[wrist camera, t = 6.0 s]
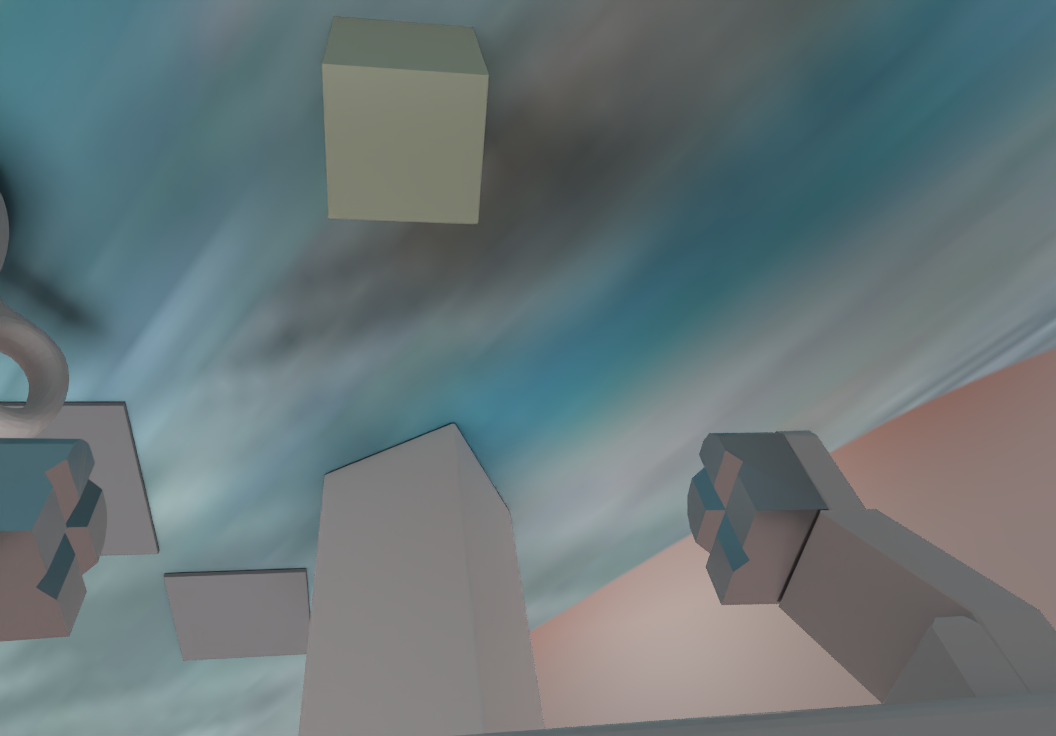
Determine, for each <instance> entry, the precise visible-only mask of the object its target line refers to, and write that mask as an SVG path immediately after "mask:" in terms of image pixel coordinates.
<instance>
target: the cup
mask: <svg viewBox="0 0 1056 736" xmlns="http://www.w3.org/2000/svg"><path fill="white" fill-rule="evenodd" d="M8 242H9V221H8V214H7V210H6V206H5V203H4V200H3V197H2V195H1V193H0V272H1V269H2V267H3V264H4V261H5V258H6V254H7V249H8ZM0 352H2V353H4V354H6V355H8V356H9V357H11V358H12V359H13V360H14V361H16V362H17V363H18V364H19V365H20V367H21V368H22V369H23V370H24V372H25V374H26V376H27V379H28V382H29V394H28V399H27V402H26V404H25V406H24V407H23V408H10V407H5V406H3V405H0V438H34V437H36V436H37V435H39V434H40V433H41V432H42V431H43V430H44V429H45V428H46V427H47V426H48V425H49V424H50V423H51V422H52V421H53V420H54V419H55V418H56V416H57V415H58V413H59V412H60V410H61V408H62V406H63V403H64V401H65V399H66V395H67V392H68V385H69V372H68V365H67V362H66V359H65V356H64V355H63V353H62V351H61V349H60V348H59V347H58V345H57V344H56V343H55V342H54V341H53V340H52V339H51V338H50V337H49V336H48V335H47V334H46V333H45V332H44V331H42V330H41V329H40V328H39V327H37V326H36V325H34V324H33V323H31V322H30V321H29V320H27V319H26V318H24V317H23V316H21V315H20V314H18V313H17V312H15V311H14V310H12V309H11V308H10V307H8V306H7V305H6V304H4V303H3V301H2V300H1V299H0Z"/></svg>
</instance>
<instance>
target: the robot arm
mask: <svg viewBox="0 0 1056 736" xmlns="http://www.w3.org/2000/svg"><path fill="white" fill-rule="evenodd" d="M699 456H700V458H701V460H702V462H703V464H704V468H703V469H702V470H701V471H700V472H699V473H697V474H696V475H695V476H694V477H693V478H692V481H691V484H690V488H689V492H688V519H689V524H690V529H691V531H692V534H693V536H694V539H695V542H696V543H697V544H699V545H700V546H701V547H702V548H704V549H705V550H706V551H708V552H709V553H710V556H709V559H708V562H707V565H706V569H707V571H708V574H709V576H710V578H711V581H712V583H713V585H714V588H715V590H716V593H717V595H718V598H719V600H720V603H721V604H722V605H738V604H739V605H740V604H779V607H780V608H781V609H782V610H783V611H784V612H785V613H786V614H787V615H788V616H789V617H790V618H792V620H794V621H795V622H796V623H797V624H798V625H799V626H800V627H801V628H802V629H803V630H804V631H805V632H806V633H807V634H809V635H810V636H811V637H812V638H813V639H814V640H815V641H816V642H817V643H818V644H819V645H820V646H821V647H822V648H823V649H825V650H826V651H827V652H828V653H829V654H830V655H831V656H832V657H833V658H834V659H835V660H836V661H837V662H838V663H840V664H841V665H842V666H843V667H844V668H845V669H846V670H847V671H848V672H849V673H850V674H851V675H852V676H853V677H854V678H856V679H857V680H858V681H859V682H860V683H861V684H862V685H863V686H864V687H865V688H866V689H867V690H868V691H869V692H870V693H872V694H873V695H874V696H875V697H876V698H877V699H878V700H879V701H880V702H881V703H882V704H876V705H863V706H849V707H835V708H822V709H809V710H796V711H795V710H794V711H781V712H768V713H754V714H740V715H726V716H715V717H714V716H713V717H700V718H686V719H673V720H659V721H647V722H634V723H619V724H606V725H592V726H579V727H565V728H552V729H538V730H525V731H511V732H497V733H484V734H470V735H456V736H1056V631H1055V629H1054V628H1053V627H1052V625H1051V624H1050V623H1049V622H1048V621H1047V619H1046V618H1045V617H1044V615H1043V614H1042V613H1041V611H1040V610H1038V609H1037V608H1035V607H1034V606H1032V605H1030V604H1029V603H1027V602H1025V601H1024V600H1022V599H1020V598H1019V597H1017V596H1015V595H1014V594H1013V593H1011V592H1009V591H1008V590H1006V589H1005V588H1003V587H1001V586H1000V585H998V584H996V583H995V582H993V581H992V580H990V579H988V578H987V577H985V576H983V575H982V574H980V573H979V572H977V571H975V570H973V569H972V568H971V567H969V566H967V565H966V564H964V563H962V562H961V561H959V560H957V559H956V558H954V557H952V556H951V555H950V554H948V553H946V552H945V551H943V550H941V549H940V548H938V547H937V546H935V545H933V544H932V543H930V542H929V541H927V540H925V539H923V538H922V537H920V536H919V535H917V534H915V533H914V532H912V531H910V530H909V529H907V528H906V527H904V526H902V525H901V524H899V523H898V522H896V521H894V520H893V519H891V518H890V517H888V516H886V515H885V514H883V513H882V512H880V511H878V510H877V509H871V510H870V509H866V508H865V506H864V505H863V504H862V502H861V501H860V499H859V498H858V496H857V495H856V493H855V492H854V490H853V489H852V487H851V486H850V484H849V483H848V481H847V480H846V478H845V477H844V475H843V474H842V472H841V471H840V469H839V468H838V466H837V465H836V463H835V462H834V460H833V459H832V457H831V456H830V454H829V453H828V451H827V450H826V448H825V447H824V445H823V444H822V442H821V441H820V439H819V438H818V436H817V435H815V434H814V433H812V432H811V431H776V432H775V433H773V432H760V433H709V434H708V436H707V437H706V438H705V440H704V441H703V444H702V447H701V451H700V454H699ZM94 465H95V461H94V458H93V455H92V452H91V449H90V446H89V443H88V442H86V441H84V440H82V439H52V438H0V641H12V640H26V639H40V638H53V637H67V636H70V633H71V631H72V628H73V625H74V623H75V620H76V618H77V615H78V613H79V610H80V607H81V605H82V602H83V600H84V597H85V595H86V592H87V591H86V587H85V584H84V581H83V578H82V574H84V573H85V572H86V571H88V570H89V569H90V568H91V567H93V566H94V565H95V564H97V563H98V560H99V558H100V555H101V552H102V549H103V546H104V543H105V535H106V528H107V509H106V502H105V498H104V494H103V490H102V489H101V488H100V487H99V486H97V485H96V484H95V483H93V482H92V481H91V480H89V476H90V474H91V472H92V469H93V467H94Z"/></svg>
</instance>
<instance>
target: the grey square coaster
mask: <svg viewBox="0 0 1056 736" xmlns="http://www.w3.org/2000/svg"><path fill="white" fill-rule="evenodd" d="M164 581H165V585H166V590H167V594H168V598H169V603H170V607H171V611H172V615H173V620H174V624H175V628H176V632H177V637H178V641H179V645H180V649H181V654H182V658H183V661H187V660H206V659H224V658H243V657H261V656H280V655H299V654H307V645H308V635H309V625H310V610H309V597H308V585H307V572H306V569H282V570H255V571H227V572H199V573H171V574H164Z"/></svg>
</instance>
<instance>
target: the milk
mask: <svg viewBox="0 0 1056 736" xmlns="http://www.w3.org/2000/svg"><path fill="white" fill-rule="evenodd" d="M538 729H545V726H544V719H543V713H542V707H541V700H540V695H539V688H538V682H537V676H536V670H535V664H534V658H533V652H532V646H531V639H530V633H529V627H528V621H527V614H526V608H525V602H524V596H523V590H522V584H521V577H520V571H519V565H518V559H517V553H516V547H515V541H514V534H513V528H512V522H511V516H510V512H509V511H508V509H507V507H506V506H505V504H504V502H503V501H502V499H501V498H500V496H499V494H498V493H497V491H496V489H495V488H494V486H493V485H492V483H491V481H490V480H489V478H488V476H487V475H486V473H485V472H484V470H483V468H482V467H481V465H480V463H479V462H478V460H477V459H476V457H475V455H474V454H473V452H472V450H471V449H470V447H469V446H468V444H467V442H466V441H465V439H464V437H463V436H462V434H461V433H460V431H459V429H458V428H457V426H456V425H455V424H454V423H453V424H450V425H447V426H445V427H442V428H440V429H437V430H435V431H432V432H430V433H427V434H425V435H422V436H420V437H417V438H415V439H412V440H410V441H407V442H405V443H403V444H400V445H398V446H395V447H393V448H390V449H388V450H385V451H383V452H380V453H378V454H375V455H373V456H370V457H368V458H365V459H363V460H360V461H358V462H355V463H353V464H350V465H348V466H346V467H343V468H341V469H338V470H336V471H333V472H331V473H328V474H326V475H325V477H324V485H323V495H322V505H321V515H320V525H319V535H318V545H317V555H316V565H315V575H314V585H313V595H312V605H311V615H310V625H309V635H308V645H307V655H306V665H305V675H304V685H303V695H302V705H301V715H300V725H299V735H298V736H456V735H470V734H484V733H497V732H511V731H525V730H538Z"/></svg>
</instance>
